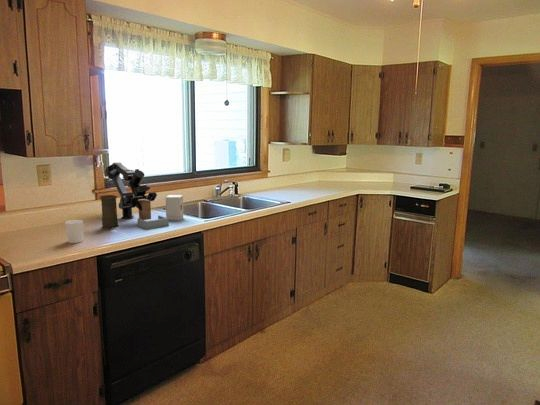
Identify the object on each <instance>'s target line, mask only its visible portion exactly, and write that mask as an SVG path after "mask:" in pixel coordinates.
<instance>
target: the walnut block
mask: <svg viewBox="0 0 540 405" xmlns="http://www.w3.org/2000/svg"><path fill="white" fill-rule="evenodd" d="M138 202H139V204H140V206H141V208H142V211H141V210H139V209H138V218H139V219H142V220H145V221H149V220H151V219H152V209H151V208H152V207H151V203H152V202H151V201H150V200H147V199H142V200H138Z"/></svg>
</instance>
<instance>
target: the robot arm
mask: <svg viewBox="0 0 540 405" xmlns="http://www.w3.org/2000/svg"><path fill="white" fill-rule="evenodd" d="M104 173H105V175H106V177H108V179H110V180H112V181H113V184H114V187H116V190H117V192H118V193H119V195H120V198H119V203H118V206H117V207H118V209H119V210H120V209H121V212H122V216H120V217H121V218H120V219H133V218H134V215H133V208H137V209H138V211H139V210H141V211H142V208H141V206H140V204H139V202H138V200H145V199H147V200H150V202H154V201H155V200H156V198H157V197H158V194H157V192H155V191H152V192H148V194H147V191H149V190H151V187H150V185H149V184H148V183H146V184H144V185H141V183H142V182H143V180H144V177H145V173H144V172H143V171H142V170H140V169H139V168H136V169H135V170H134V169H129V168H128V167H126V166H124V165H123V164H122V162H120V161H119V162H114V163H111V164H110V165H108V166H107V167H106V168H105V170H104ZM120 175H122V178H121V176H120ZM122 179H123V180H124V181H125V182H128V188H130V190H131V191H129V192H128V189H127V188H126V186H125V184H124V182H123V180H122Z"/></svg>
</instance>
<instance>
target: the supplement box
mask: <svg viewBox="0 0 540 405" xmlns="http://www.w3.org/2000/svg"><path fill="white" fill-rule="evenodd" d="M165 217H166V218H168V221H182V220H183V219H184V195H183V194H168V195H167V196H165Z"/></svg>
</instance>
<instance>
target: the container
mask: <svg viewBox="0 0 540 405" xmlns="http://www.w3.org/2000/svg"><path fill="white" fill-rule="evenodd" d="M99 199H100V202H101V215H102V218H101V219H102V220H101V221H102V223H101V225H102V226H101V229H102V230H113V229H114V228H115V229H116V228H118V227H119V226H120V225H119V222H118V211H117V207H118V206H117V195H115V194H112V195H111V194H108V195H101V196H100V198H99Z"/></svg>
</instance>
